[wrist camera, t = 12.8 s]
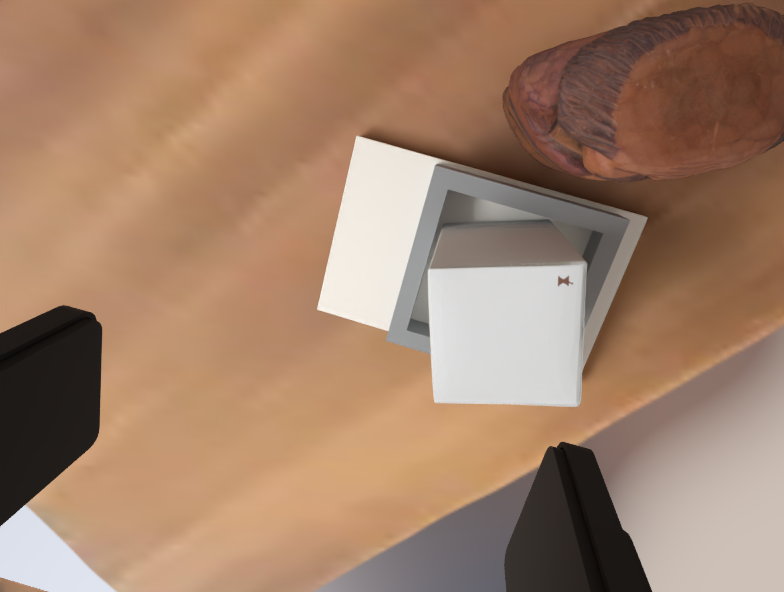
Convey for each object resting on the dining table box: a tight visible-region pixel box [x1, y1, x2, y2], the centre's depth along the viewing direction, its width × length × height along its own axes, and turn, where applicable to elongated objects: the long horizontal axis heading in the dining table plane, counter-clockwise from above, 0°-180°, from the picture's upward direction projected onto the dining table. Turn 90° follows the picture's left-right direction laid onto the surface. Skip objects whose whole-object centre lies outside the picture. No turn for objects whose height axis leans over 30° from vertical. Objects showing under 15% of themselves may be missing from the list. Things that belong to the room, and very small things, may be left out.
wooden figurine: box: [503, 3, 784, 182], centre depth 25 cm, size 12×6×18 cm, turn 99°
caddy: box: [317, 136, 648, 371], centre depth 35 cm, size 13×20×4 cm, turn 75°
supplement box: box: [428, 219, 587, 407], centre depth 30 cm, size 7×7×13 cm
